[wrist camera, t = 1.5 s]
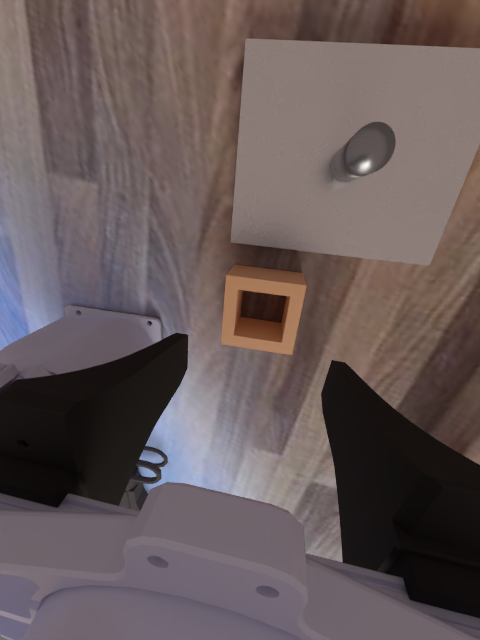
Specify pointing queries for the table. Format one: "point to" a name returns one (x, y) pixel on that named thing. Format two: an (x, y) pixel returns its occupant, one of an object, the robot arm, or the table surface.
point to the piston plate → (331, 115)
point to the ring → (255, 330)
